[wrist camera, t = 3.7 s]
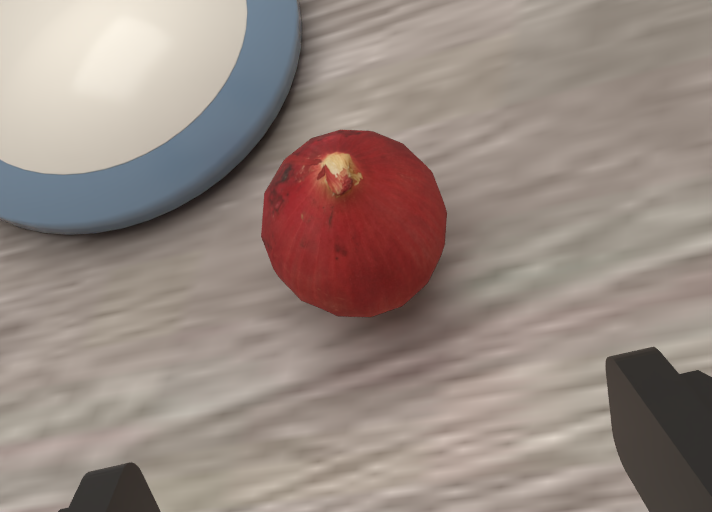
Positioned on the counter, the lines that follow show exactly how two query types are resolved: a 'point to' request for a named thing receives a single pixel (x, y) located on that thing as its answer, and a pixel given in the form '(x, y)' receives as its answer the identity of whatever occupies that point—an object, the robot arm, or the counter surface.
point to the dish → (133, 103)
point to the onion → (354, 223)
